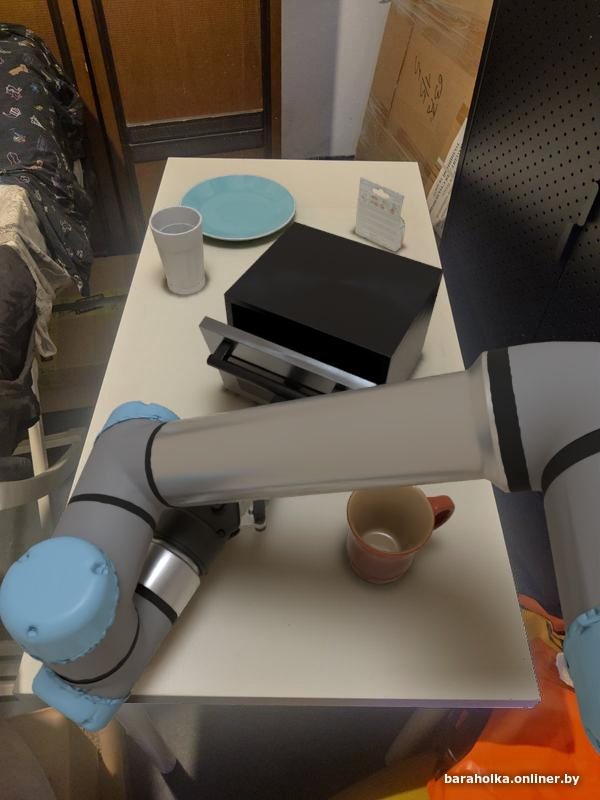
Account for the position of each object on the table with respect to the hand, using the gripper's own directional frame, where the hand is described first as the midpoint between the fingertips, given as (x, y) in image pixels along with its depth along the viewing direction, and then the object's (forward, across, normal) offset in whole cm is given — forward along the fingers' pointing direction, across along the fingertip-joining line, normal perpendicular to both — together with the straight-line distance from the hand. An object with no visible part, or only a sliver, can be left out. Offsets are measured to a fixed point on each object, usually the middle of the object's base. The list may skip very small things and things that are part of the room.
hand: (285, 397), depth 68 cm
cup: (+20, -30, -7) cm, 36 cm away
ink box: (+47, -6, -7) cm, 48 cm away
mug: (-9, +19, -7) cm, 22 cm away
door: (+2, 0, -7) cm, 8 cm away
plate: (+41, -32, -7) cm, 53 cm away
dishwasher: (+13, 0, -7) cm, 15 cm away
